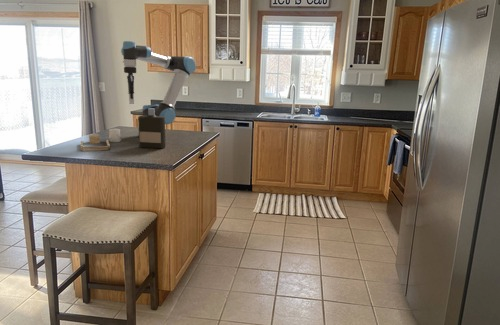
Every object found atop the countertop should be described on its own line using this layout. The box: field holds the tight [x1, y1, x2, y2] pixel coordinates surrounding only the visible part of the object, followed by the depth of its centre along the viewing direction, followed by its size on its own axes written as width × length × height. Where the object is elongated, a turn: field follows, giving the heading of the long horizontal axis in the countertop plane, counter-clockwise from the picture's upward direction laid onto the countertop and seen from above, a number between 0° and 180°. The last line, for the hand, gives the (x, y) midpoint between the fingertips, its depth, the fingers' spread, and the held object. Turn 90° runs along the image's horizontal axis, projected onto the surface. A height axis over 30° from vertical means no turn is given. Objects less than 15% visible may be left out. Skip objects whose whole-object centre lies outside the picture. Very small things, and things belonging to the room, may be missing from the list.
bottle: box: [137, 108, 166, 150], centre depth 228 cm, size 8×16×25 cm, turn 88°
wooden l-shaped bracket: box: [80, 139, 111, 152], centre depth 225 cm, size 20×16×2 cm
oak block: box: [88, 134, 101, 145], centre depth 237 cm, size 6×6×5 cm
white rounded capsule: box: [108, 128, 122, 143], centre depth 244 cm, size 7×7×8 cm
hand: (131, 103), depth 235 cm, fingers closed
